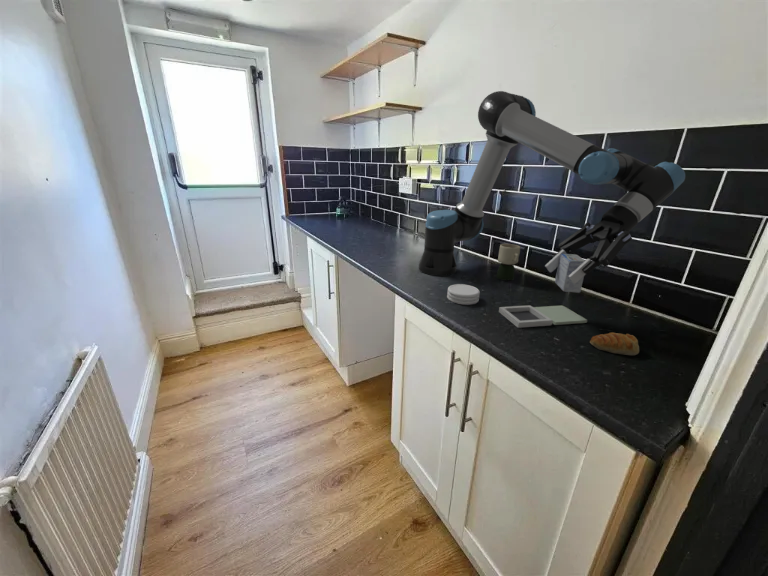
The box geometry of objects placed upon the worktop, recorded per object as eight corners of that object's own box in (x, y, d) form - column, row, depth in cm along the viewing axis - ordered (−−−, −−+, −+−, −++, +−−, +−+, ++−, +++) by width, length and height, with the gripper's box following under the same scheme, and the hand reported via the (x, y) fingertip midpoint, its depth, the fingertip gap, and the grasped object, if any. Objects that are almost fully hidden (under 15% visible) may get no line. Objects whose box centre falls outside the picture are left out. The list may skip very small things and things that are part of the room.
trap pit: (498, 311, 95) (499, 307, 95) (529, 309, 97) (530, 305, 96) (518, 327, 86) (519, 322, 85) (551, 325, 88) (552, 320, 87)
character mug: (521, 283, 119) (528, 249, 114) (504, 284, 117) (510, 249, 113) (504, 274, 129) (510, 242, 124) (488, 275, 127) (493, 242, 123)
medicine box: (580, 293, 86) (588, 261, 83) (562, 291, 87) (569, 260, 84) (570, 283, 93) (577, 254, 90) (554, 282, 94) (560, 253, 91)
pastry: (597, 354, 75) (601, 339, 74) (583, 339, 81) (587, 326, 80) (640, 357, 74) (645, 343, 73) (623, 342, 80) (628, 329, 79)
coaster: (441, 295, 107) (442, 285, 106) (466, 292, 110) (468, 282, 109) (457, 307, 98) (459, 296, 97) (485, 303, 101) (486, 293, 100)
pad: (532, 309, 97) (532, 307, 97) (561, 307, 99) (562, 305, 99) (554, 325, 88) (555, 322, 88) (586, 322, 90) (587, 320, 90)
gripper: (671, 231, 77) (596, 297, 80) (599, 218, 97) (541, 271, 99) (659, 209, 74) (582, 278, 77) (588, 199, 94) (528, 255, 97)
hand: (559, 274), depth 88 cm, fingers closed on medicine box, 9 cm apart
